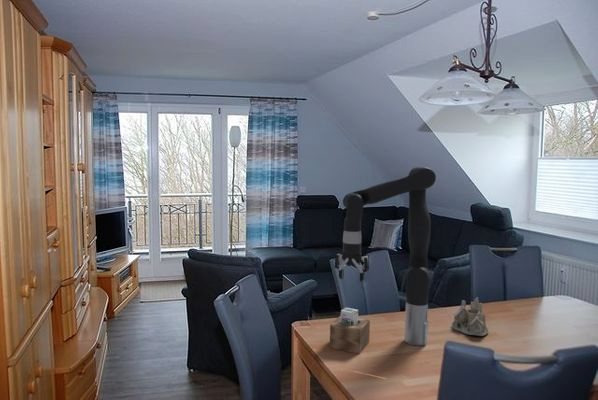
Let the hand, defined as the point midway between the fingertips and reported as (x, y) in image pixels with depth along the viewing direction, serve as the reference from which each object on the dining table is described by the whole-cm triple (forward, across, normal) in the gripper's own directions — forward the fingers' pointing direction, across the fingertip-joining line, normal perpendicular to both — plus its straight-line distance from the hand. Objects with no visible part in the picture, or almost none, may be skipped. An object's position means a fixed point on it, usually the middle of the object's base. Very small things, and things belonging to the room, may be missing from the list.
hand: (351, 280), depth 188 cm
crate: (+28, 0, 0) cm, 28 cm away
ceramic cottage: (+28, -44, -42) cm, 67 cm away
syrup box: (+27, 0, 0) cm, 27 cm away
